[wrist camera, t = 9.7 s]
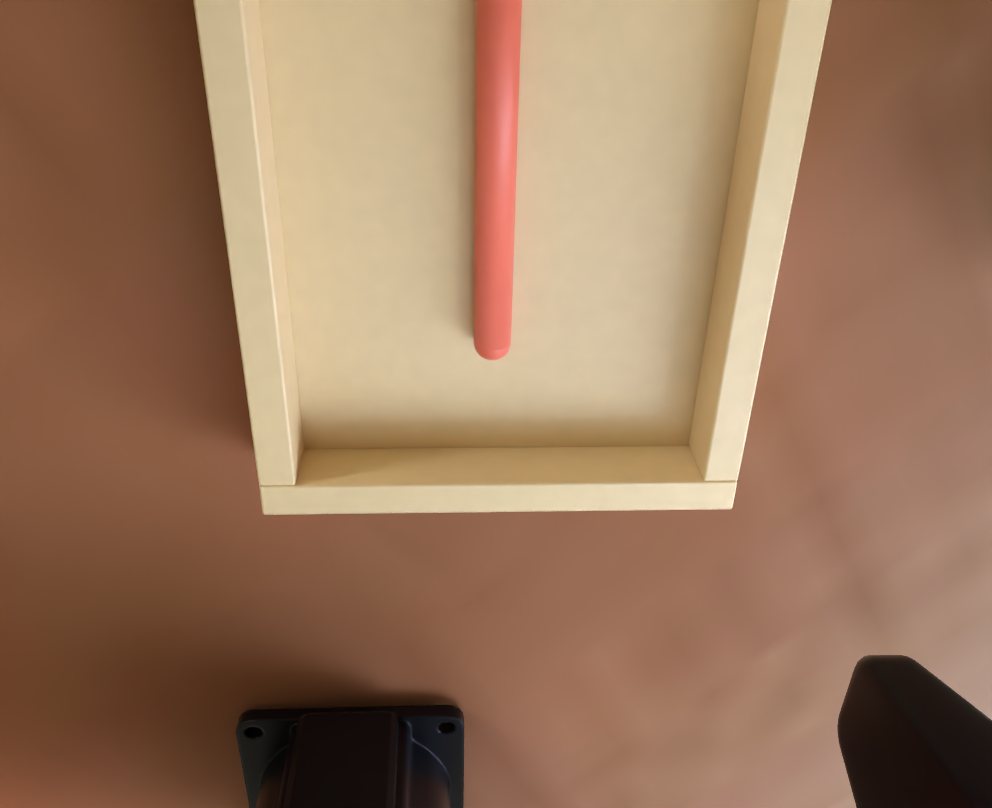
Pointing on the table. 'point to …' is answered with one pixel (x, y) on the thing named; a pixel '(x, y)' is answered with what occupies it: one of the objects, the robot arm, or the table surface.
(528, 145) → the tray
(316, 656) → the table surface
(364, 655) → the table surface
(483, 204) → the red thin rounded piece
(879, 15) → the table surface
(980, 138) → the table surface
